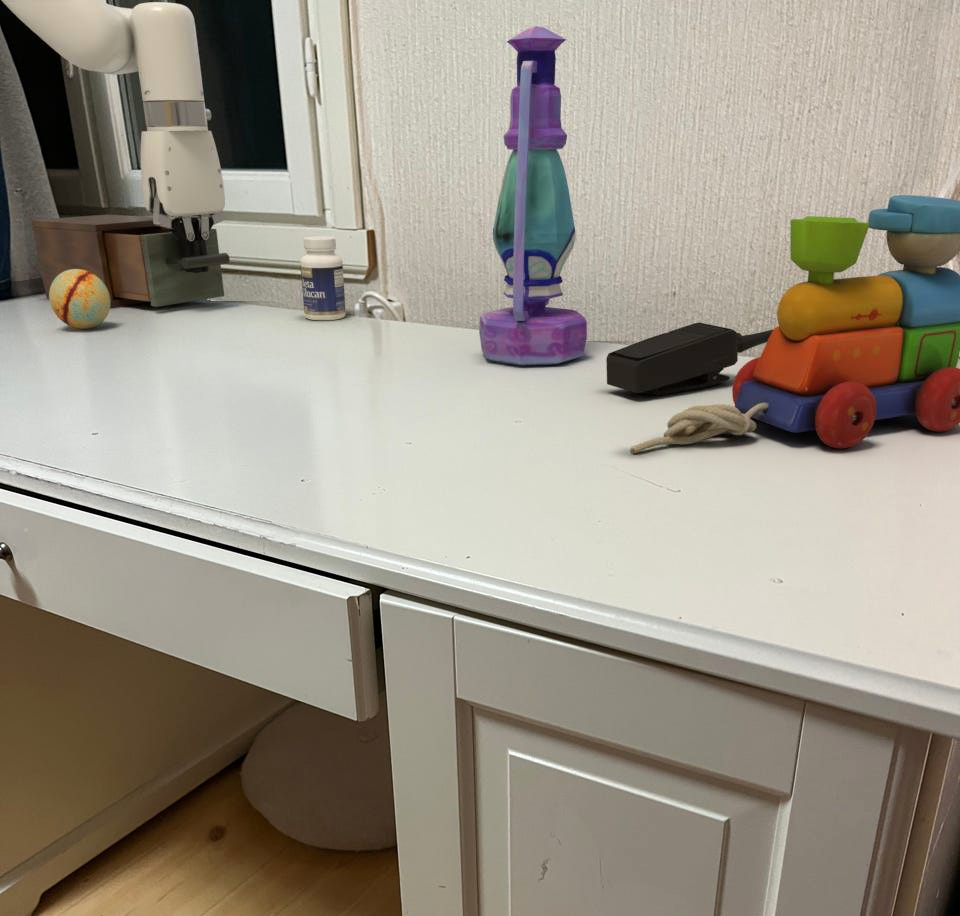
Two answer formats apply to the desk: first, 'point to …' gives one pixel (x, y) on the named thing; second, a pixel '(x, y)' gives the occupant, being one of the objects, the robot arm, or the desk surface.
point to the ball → (79, 298)
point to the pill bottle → (322, 279)
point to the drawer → (161, 267)
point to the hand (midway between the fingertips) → (196, 271)
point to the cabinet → (81, 246)
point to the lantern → (534, 219)
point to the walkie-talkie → (679, 359)
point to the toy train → (853, 335)
